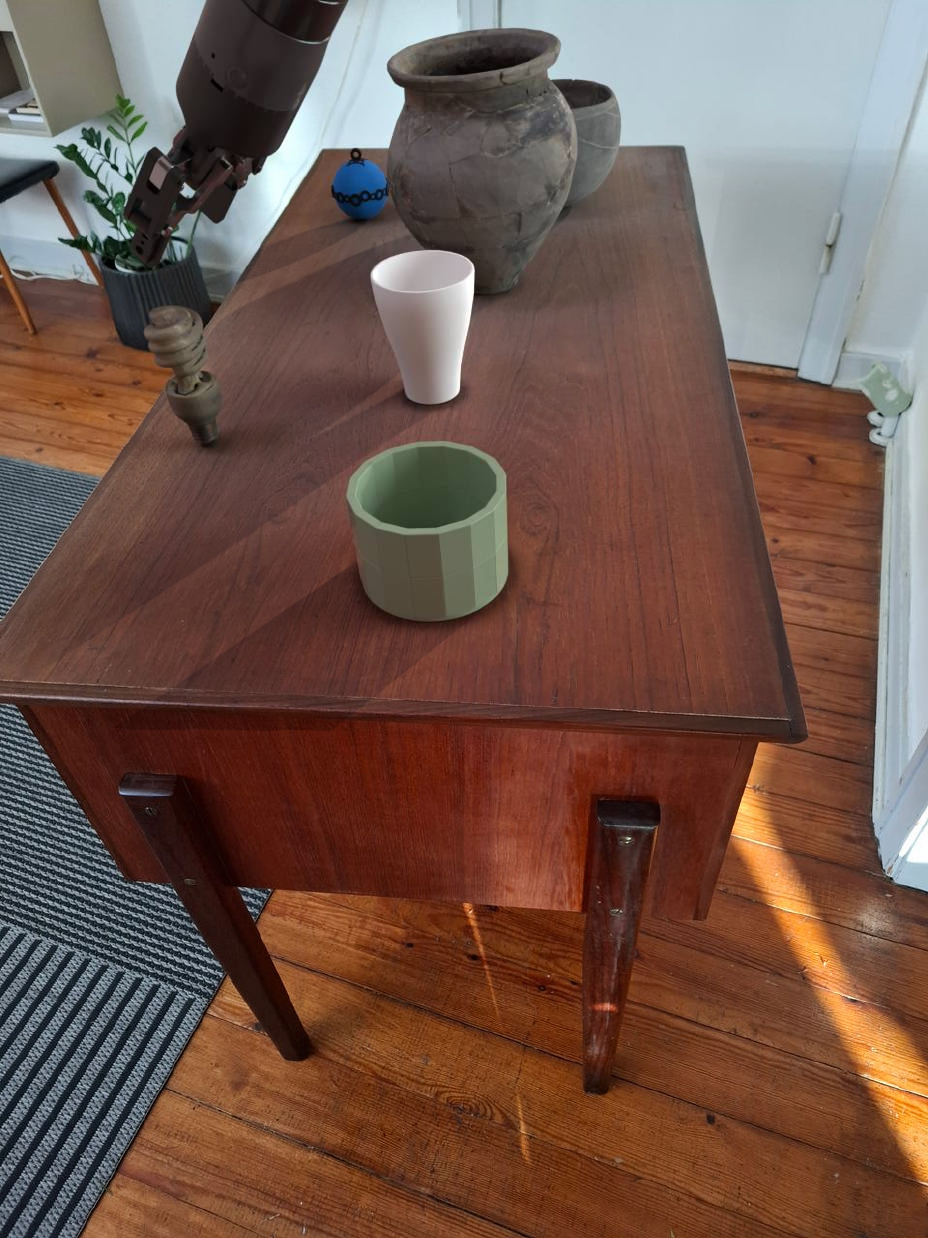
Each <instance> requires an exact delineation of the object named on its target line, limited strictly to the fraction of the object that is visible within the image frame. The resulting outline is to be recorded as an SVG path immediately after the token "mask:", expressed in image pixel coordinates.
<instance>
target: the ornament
mask: <svg viewBox="0 0 928 1238" xmlns="http://www.w3.org/2000/svg"><path fill="white" fill-rule="evenodd" d="M355 153H357V156H356V155H355ZM349 156H350V159H349V160H348V161H346V162H344V163H343V164H342V165H340V167H339V168H338V169H337V170H336V172H335V175H334V178H333V182H332V184H331V186H330V192H331V197H332V199H334V200H335V202H336V205H337V206H338V208H339V209H340V210H341V211H342V212H343V213H344V214H345V215H347V216H349V217H350V218H352V219H355V220H360V221H365V220H369V219H372V218H373V217H375V216H377V215H378V214H379V213H380V212H381V211H382V209H383V208H384V207H385V205H386V203H387V199H388V197H389V196H390V189H389V184H388V178H387V177H386V176H385V174H384V172H383V171H382V169H381V168H380V167H379V166H378V165H377V164H376V163H374V162H372V161H370V160H368V159H367V158H364V157H362V156H363V153H362V150H361V149H360V148H358V147H353V148H352V149H351V150H350V152H349Z"/></svg>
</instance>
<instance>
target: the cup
mask: <svg viewBox="0 0 928 1238" xmlns="http://www.w3.org/2000/svg"><path fill="white" fill-rule="evenodd" d="M370 282H371V286H372V291H373V297H374V301H375V304H376V308H377V312H378V315H379V317H380V321H381V323H382V326H383V330H384V332H385V334H386V337H387V339H388V341H389V344H390V347H391V349H392V352H393V354H394V357H395V359H396V363H397V365H398V369H399V371H400V374H401V380H402V384H403V388H404V393H405V396H406V398H407V399H409V400H411V402H414V403H416V404H421V405H430V406H431V405H439V404H443V403H446V402H448V401H451V400H452V399H454V398H456V397H457V396H458V395H459V393H460V390H461V372H462V371H461V368H462V362H463V357H464V350H465V345H466V341H467V336H468V331H469V326H470V323H471V316H472V308H473V302H474V294H475V293H474V266H473V264H472V262H471V261H470V260H469V259H468V258H466V257H464V256H462V255H459V254H456V253H452V252H447V251H439V250H425V249H424V250H413V251H407V252H403V253H399V254H396V255H392V256H390V257H388V258H385V259H383V260H382V261H380V262H378V263H377V264H376V265H374V267H373V269H372V270H371V272H370Z"/></svg>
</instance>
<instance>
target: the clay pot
mask: <svg viewBox="0 0 928 1238" xmlns="http://www.w3.org/2000/svg"><path fill="white" fill-rule="evenodd" d="M561 49H562V42H561V40H560V38H559V37H558V36H557V35H555V34H553V33H550V32H548V31H545V30H540V29H531V28H525V27H506V28H505V27H500V28H496V27H495V28H481V29H474V30H473V29H471V30H465V31H460V32H455V33H447V34H445V35H441V36H440V35H439V36H436V37H432V38H428V39H425V40H422V41H418V42H416V43H414V44H411V45H408V46H406V47H404V48H403V49H401V50H399V51H398V52H396V53H394V55H392V56H391V57H390V58H389V59H388V61H387V63H386V71H387V73H388V76H389V77H390V78H391V80H392V81H393V83H394V84H395V85H396V86H398V87H400V88H403V94H404V96H403V97H404V102H403V106H402V109H401V110H400V113H399V115H398V118H397V120H396V123H395V126H394V128H393V132H392V135H391V138H390V142H389V147H388V150H387V158H386V159H387V160H386V178H387V181H388V185H389V194H390V196H391V199H392V202H393V205H394V209H395V210H396V213H397V214H398V217H399V218H400V220H401V222H402V223H403V224H404V226H405V227H406V229H407V230H408V232H409V233H410V234H411V236H412V237H413V238H414V239H415V240H416V241H417V243H418V244H419V245H420V246H421V247H422V248H423V249H424V250H439V251H447V252H452V253H456V254H459V255H462V256H464V257H466V258H468V259H469V260H470V261H471V262H472V264H473V266H474V294H477V295H489V296H490V295H491V296H492V295H496V294H503V293H506V292H508V291H511V290H512V289H513V288H514V287H516V286H517V284H518V282H519V280H520V277H521V275H522V274H523V272H524V270H525V268H526V267H527V265H528V264H529V263H531V261H532V260H533V258H534V256H535V255H536V253H537V252H538V250H539V249H540V247H541V246H542V244H543V242H544V241H545V239H546V238H547V236H548V234H549V233H550V232H551V230H552V228H553V226H554V224H556V221H557V219H558V217H559V215H560V214H561V211H562V210H563V206H564V204H565V202H566V199H567V197H568V194H569V191H570V187H571V182H572V177H573V172H574V169H575V165H576V161H577V153H578V140H577V131H576V125H575V121H574V117H573V114H572V111H571V109H570V107H569V105H568V103H567V101H566V100H565V98H564V96H563V94H562V93H561V92H560V90H559V89H558V88H557V87H556V86H555V85H554V83H553V82H552V81H551V80H552V79H550V77H549V72H548V70H549V69H550V68H551V67H553V66H554V65H555V64H556V62H557V61H558V58H559V55H560V52H561Z"/></svg>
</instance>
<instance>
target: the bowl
mask: <svg viewBox="0 0 928 1238" xmlns="http://www.w3.org/2000/svg"><path fill="white" fill-rule="evenodd" d="M550 80H551V81H552V82H553V83H554V85H555V86H556V87H557V88H558V89H559V90H560V92H561V93H562V94H563V96H564V98H565V100H566V101H567V103H568V105H569V107H570V109H571V111H572V114H573V117H574V121H575V125H576V131H577V140H578V153H577V161H576V165H575V169H574V172H573V177H572V182H571V187H570V191H569V194H568V197H567V199H566V202H565V204H564V206H563V208H568V207H570V206H573V205H575V204H577V203H579V202H581V201H583V200H585V199H586V198H588V197H589V196H590V195H591V194H593V193H594V192H595V191H596V190H597V189H598V188H600V186H601V185H602V183H604V181H605V180H606V178H607V177H608V175H610V172H611V170H612V168H613V166H614V164H615V162H616V159H617V156H618V153H619V150H620V149H619V148H620V144H621V136H622V135H621V134H622V116H621V110H620V105H619V101H618V99H617V96H616V94H615V92H614V91H613V89H612V88H611V87H609V86H608V85H607V84H603V83H599V82H597V81H595V80H589V79H588V80H587V79H577V78H575V79H573V78H553V79H550ZM563 208H562V209H563Z"/></svg>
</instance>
